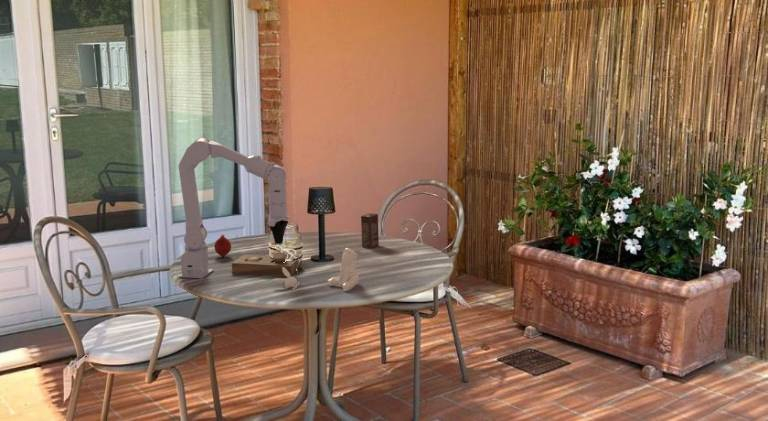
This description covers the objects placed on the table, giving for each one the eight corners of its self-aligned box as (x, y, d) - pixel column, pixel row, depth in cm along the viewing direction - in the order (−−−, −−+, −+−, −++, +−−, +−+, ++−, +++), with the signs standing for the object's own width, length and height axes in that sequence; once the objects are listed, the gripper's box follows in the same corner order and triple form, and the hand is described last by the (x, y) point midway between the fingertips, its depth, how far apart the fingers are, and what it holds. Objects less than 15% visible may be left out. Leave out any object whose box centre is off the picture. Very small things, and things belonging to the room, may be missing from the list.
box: (368, 243, 295) (368, 212, 293) (379, 245, 293) (378, 213, 291) (360, 247, 290) (360, 215, 288) (371, 248, 288) (371, 216, 286)
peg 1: (257, 270, 257) (257, 260, 257) (246, 269, 258) (245, 260, 258) (261, 266, 261) (261, 257, 261) (250, 266, 262) (249, 257, 261)
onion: (229, 259, 273) (228, 236, 272) (213, 258, 273) (212, 236, 272) (233, 254, 279) (232, 233, 278) (217, 254, 279) (216, 232, 278)
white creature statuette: (325, 285, 242) (325, 248, 240) (346, 279, 248) (346, 243, 246) (346, 291, 236) (345, 253, 233) (366, 286, 242) (366, 248, 239)
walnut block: (290, 276, 252) (290, 266, 251) (232, 273, 256) (231, 262, 255) (300, 267, 262) (300, 257, 262) (244, 264, 266) (243, 254, 265)
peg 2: (283, 263, 255) (283, 253, 255) (271, 262, 256) (271, 253, 255) (287, 260, 259) (286, 250, 258) (275, 259, 260) (275, 250, 259)
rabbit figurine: (290, 291, 236) (270, 277, 238) (290, 298, 239) (270, 284, 241) (303, 278, 239) (282, 264, 241) (303, 284, 242) (283, 270, 244)
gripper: (282, 207, 246) (283, 249, 249) (296, 198, 260) (297, 238, 263) (261, 206, 247) (262, 248, 250) (275, 198, 261) (276, 237, 264)
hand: (278, 243), depth 256 cm, fingers closed
